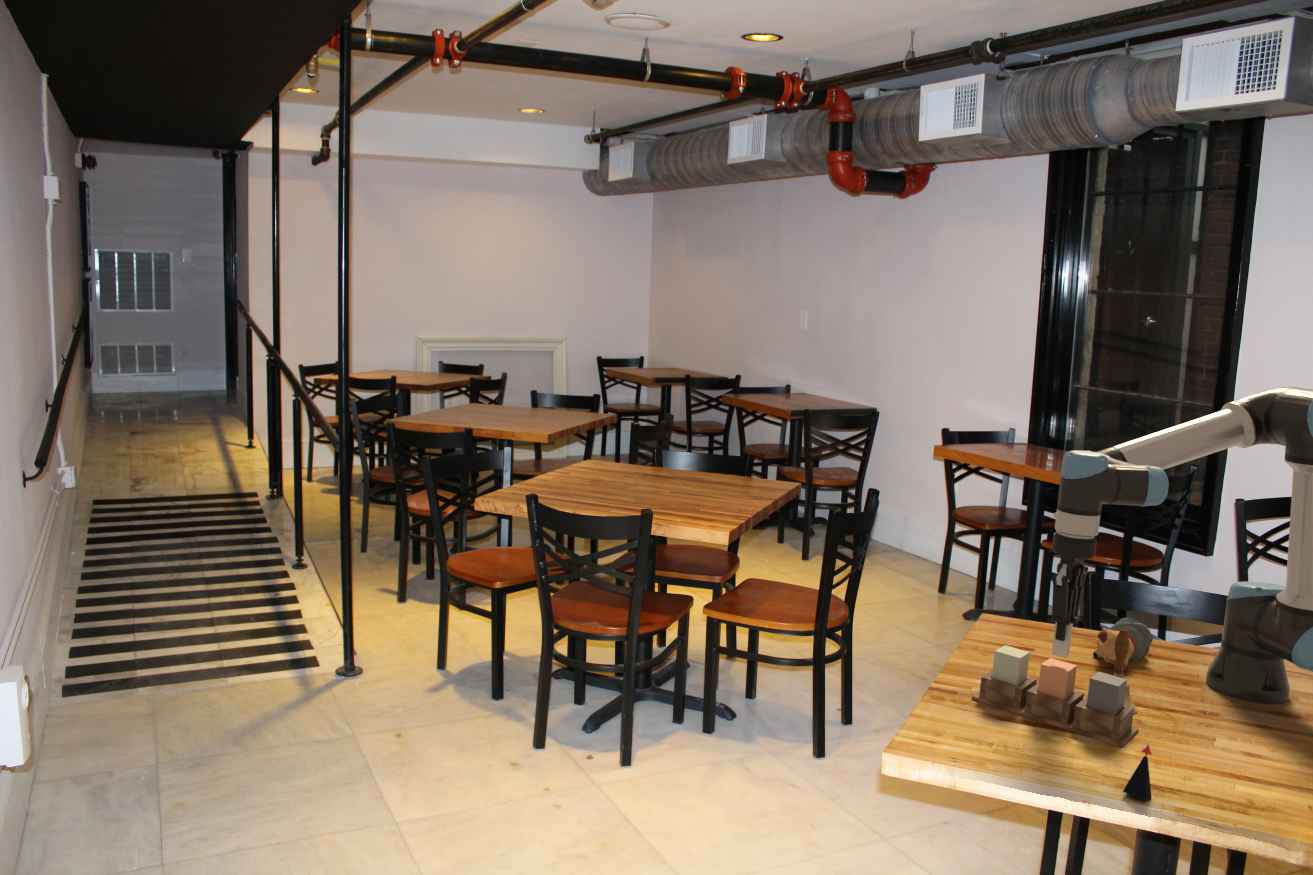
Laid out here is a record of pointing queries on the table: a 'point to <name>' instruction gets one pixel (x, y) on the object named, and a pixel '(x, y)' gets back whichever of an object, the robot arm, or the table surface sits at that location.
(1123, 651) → the hand bell
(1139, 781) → the figurine
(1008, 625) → the table surface
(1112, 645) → the figurine
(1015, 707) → the wooden base
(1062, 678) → the terracotta button
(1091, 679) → the grey square block
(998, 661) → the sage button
